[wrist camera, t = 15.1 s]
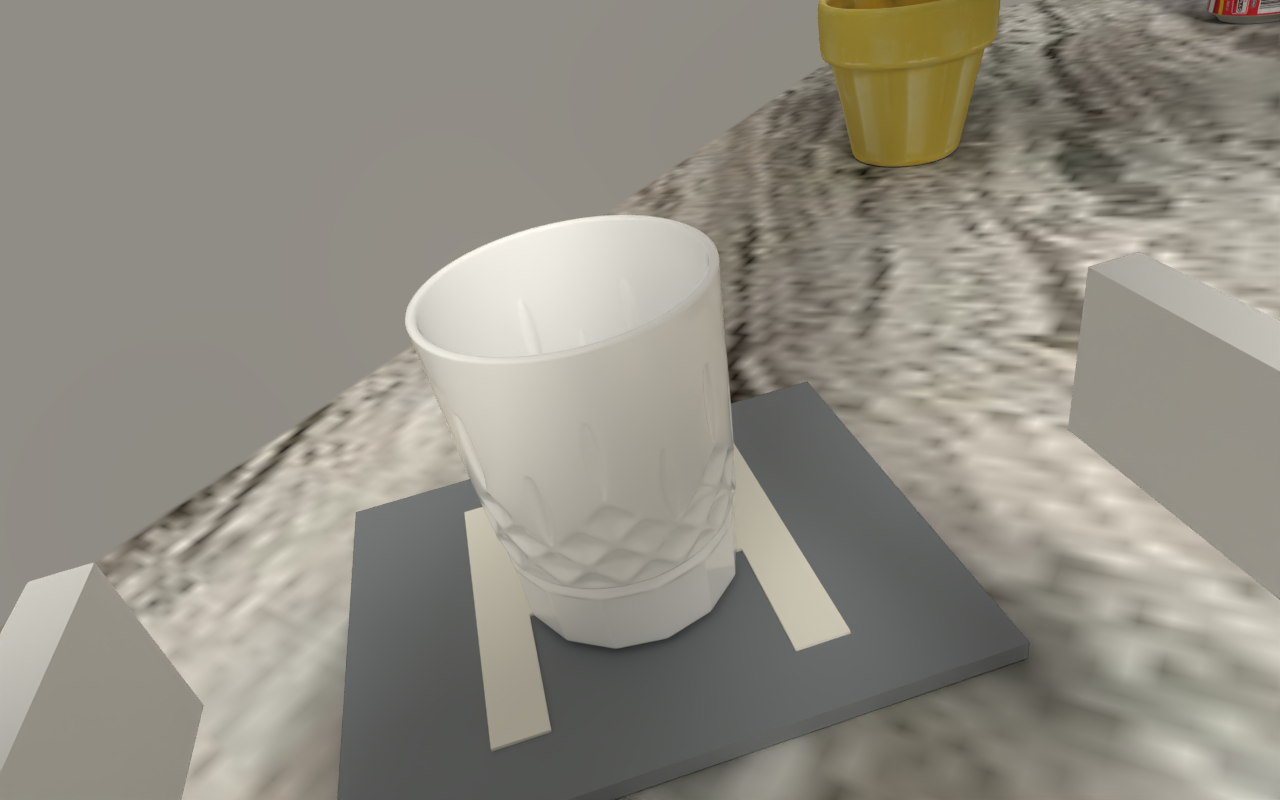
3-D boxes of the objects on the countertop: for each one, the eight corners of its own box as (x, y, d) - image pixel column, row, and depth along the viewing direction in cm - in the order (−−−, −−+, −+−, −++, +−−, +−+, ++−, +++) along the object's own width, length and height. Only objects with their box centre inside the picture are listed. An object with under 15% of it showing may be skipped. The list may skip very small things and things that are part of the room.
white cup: (459, 586, 27) (347, 310, 21) (632, 456, 31) (575, 198, 25) (628, 719, 22) (537, 400, 16) (810, 543, 26) (785, 241, 20)
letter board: (808, 394, 34) (807, 379, 33) (1027, 657, 22) (1030, 639, 22) (361, 524, 31) (355, 510, 31) (341, 892, 20) (330, 877, 19)
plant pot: (1014, 163, 50) (1028, -17, 44) (837, 189, 51) (829, 17, 46) (966, 115, 58) (972, -41, 53) (816, 138, 60) (807, -11, 54)
